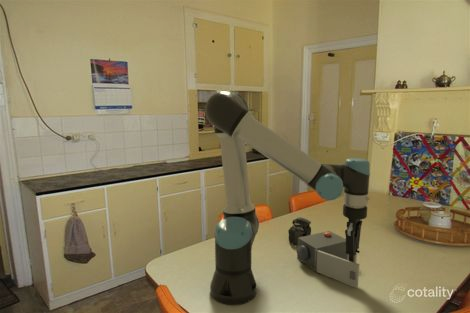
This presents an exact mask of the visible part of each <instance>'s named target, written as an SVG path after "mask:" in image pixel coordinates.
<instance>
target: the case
mask: <svg viewBox="0 0 470 313" xmlns="http://www.w3.org/2000/svg"><path fill="white" fill-rule="evenodd" d="M315 250H320V251H322V252H325V253H328V254H331V255H334V256H337V257H340V258H343V259H346V260H348V254H346V253H345V252H346V238H344V237H343V236H340V235H339V234H336V233H334V232H333V231H330V230H327V231H323V232H319V233H313V234H310V235H308V236H304V237H299V238H298V245H297V247H296V254H297V255H296V256H297V257H296V258H297V259H298V260H300V261H301V262H302V263H304V264H306V265H307V266H308V267H310V268H311V269H313V270H314V267H315Z"/></svg>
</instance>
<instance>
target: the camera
mask: <svg viewBox="0 0 470 313" xmlns="http://www.w3.org/2000/svg"><path fill="white" fill-rule="evenodd" d="M291 224H292V226H290V228H289V229H288V230H287V232H288V242H289V243H290V244H292V245H296V246H298V238H299V237H304V236H308V235H312V234H311V233H312V228H311V226H310V225H311V224H312V221H310V220H308V219H306V218H303V217H302V216H297V218H295V219H292V222H291Z"/></svg>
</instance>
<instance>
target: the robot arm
mask: <svg viewBox="0 0 470 313" xmlns="http://www.w3.org/2000/svg"><path fill="white" fill-rule="evenodd" d="M204 108H205V111H204V112H205V117H206V119H207V120H208V122H209V123H210V124H211V125H212V126H213V130H214V135H215V136H217V137H218V138H219V144H220V152H221V153H220V154H221V163H222V171H223V182H224V191H225V201H226V204H225V206H224V207H223V208H222V213H223V219H221V220H219V221H218V222H217V223H216V225H215V228H214V249H215V250H214V253H215V254H214V255H215V256H214V257H215V259H214V261H215V268H214V269H215V270H214V272H213V276H212V280H211V282H210V289H209V290H210V292H209V293H210V296H211V297H212V298H213V300H215V301H217V302H218V303H221V304H223V305H230V306H231V305H232V306H234V305H242V304H245V303H249V302H251V301H252V300H253V299H254V298H255V297H256V295H257V290H258V289H257V287H258V286H257V282H256V279H255V276H254V273H253V270H252V250H253V249H252V247H253V245H254V241H255V238H256V235H257V234H258V231H259V225H260V224H259V217H258V215H257V212H256V205H255V204H253V203H252V201H251V195H250V181H249V174H248V173H249V172H248V171H249V170H248V160H247V151H246V149H247V148H246V144H247V145H248V146H249V147H251V148H252V149H254V150H255V151H256V152H257V151H258V153H260V154H262V155H263V156H264V157H266V158H267V159H269V160H271V161H272V162H273V163H275V164H276V165H278V167H280V168H282V169H284V170H285V171H286V172H287V173H290V174H291V175H292V176H294V177H296V178H297V179H298V180H300V181H301V182H303V183H304V184H305V185H307V186H308V187H309V188H311V189H312V190H314V191H315V192H316V194H317V195H318V196H319V197H320V198H321V199H323V200H325V201H335V200H337V199H338V198H340V197H341V195H342V194H343V201H342V202H343V205H342V206H343V207H342V215H343V217H345V218H347V219H348V221H347V222H346V229H345V231H344V235H345V239H346V252H345V253H346V254H348V260H349V261H351V262H354V263H357V257H358V254H360V252H361V251H360V250H359V248H360V240H361V239H360V238H361V231H362V225H363V220H364V219H367V217H368V216H367V215H368V207H367V206H368V201H369V200H370V197H369V186H370V175H371V173H370V170H371V169H370V167H371V166H370V161H369V160H368V159H365V158H361V157H360V158H359V157H349V158H347V159H346V160H345V163H342V164H332V163H331V164H330V163H321V162H319V161H318V160H317V159H315V158H314V157H312V156H311V155H309V154H307V153H306V152H305V151H303V150H302V149H300V148H298V147H297V146H296V145H294V144H293V143H291V142H290V141H289V140H287V139H285V138H284V137H283V136H281V135H280V134H278V133H276V132H275V131H274V130H272V129H271V128H269V127H268V126H266V125H265V124H263V123H262V122H260V121H259V120H257V119H256V118H254V117H253V116H252V112H251V111H250V110H249V106H248V103H247V101H246V100H245V98H244V97H243V96H242V95H240V94H239V93H237V92H230V91H218V92H216V93H213V94H212V95H211V96H210V97H209V98H208V99H207V101H206V104H205V107H204Z"/></svg>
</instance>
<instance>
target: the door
mask: <svg viewBox="0 0 470 313" xmlns="http://www.w3.org/2000/svg"><path fill="white" fill-rule="evenodd" d="M313 270H314V272H316V273H319V274H321V275H323V276H326V277H329V278H331V279H333V280H335V281H338V282H341V283H344V284H346V285H349V286H351V287H353V288H356V289H357V288H358V287H359V276H360V264H359V263H357V262H356V263H354V262H351V261H349V260H346V259H343V258H340V257H337V256H334V255H331V254H328V253H325V252H322V251H320V250H315V267H314V269H313Z"/></svg>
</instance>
